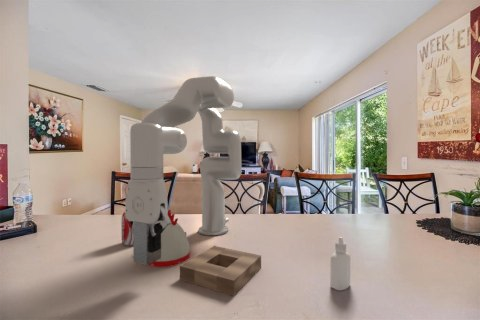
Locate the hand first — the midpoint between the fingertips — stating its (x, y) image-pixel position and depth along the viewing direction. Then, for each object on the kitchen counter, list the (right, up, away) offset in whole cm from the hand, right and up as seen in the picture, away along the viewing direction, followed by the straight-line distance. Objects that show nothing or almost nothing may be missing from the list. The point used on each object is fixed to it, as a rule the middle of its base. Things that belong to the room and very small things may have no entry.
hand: (147, 248), depth 60 cm
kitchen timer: (0, -9, +17) cm, 19 cm away
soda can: (-17, -9, +29) cm, 35 cm away
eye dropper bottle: (+47, -10, 0) cm, 48 cm away
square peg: (0, -3, 0) cm, 3 cm away
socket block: (+18, -9, +6) cm, 21 cm away
